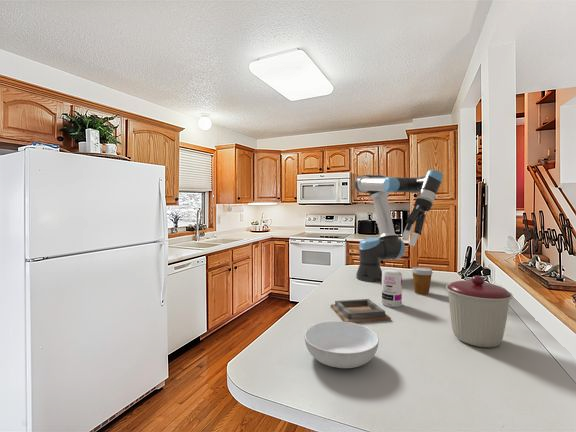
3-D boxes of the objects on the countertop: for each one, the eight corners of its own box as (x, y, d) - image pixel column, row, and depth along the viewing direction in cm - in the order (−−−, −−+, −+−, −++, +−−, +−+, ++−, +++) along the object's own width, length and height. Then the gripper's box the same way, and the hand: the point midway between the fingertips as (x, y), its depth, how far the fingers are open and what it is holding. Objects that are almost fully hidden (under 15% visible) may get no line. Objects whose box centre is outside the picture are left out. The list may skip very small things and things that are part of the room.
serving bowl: (328, 335, 101) (328, 315, 101) (389, 355, 88) (390, 332, 87) (289, 361, 85) (289, 337, 85) (357, 390, 72) (357, 362, 71)
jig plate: (330, 306, 128) (330, 299, 128) (370, 304, 131) (370, 297, 131) (345, 323, 111) (345, 315, 111) (390, 320, 114) (390, 312, 113)
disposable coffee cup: (435, 296, 143) (436, 271, 142) (415, 295, 143) (416, 271, 142) (427, 290, 152) (427, 266, 152) (408, 290, 152) (408, 266, 152)
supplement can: (398, 301, 135) (399, 268, 134) (403, 308, 126) (404, 273, 126) (380, 301, 135) (380, 268, 135) (384, 307, 127) (384, 272, 126)
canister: (446, 324, 109) (447, 267, 108) (507, 335, 100) (509, 273, 99) (443, 344, 94) (444, 278, 93) (514, 360, 85) (517, 286, 84)
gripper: (428, 192, 131) (410, 236, 128) (436, 212, 150) (421, 250, 148) (411, 188, 135) (394, 231, 133) (421, 208, 155) (406, 245, 153)
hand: (408, 241), depth 140 cm, fingers open, 13 cm apart
